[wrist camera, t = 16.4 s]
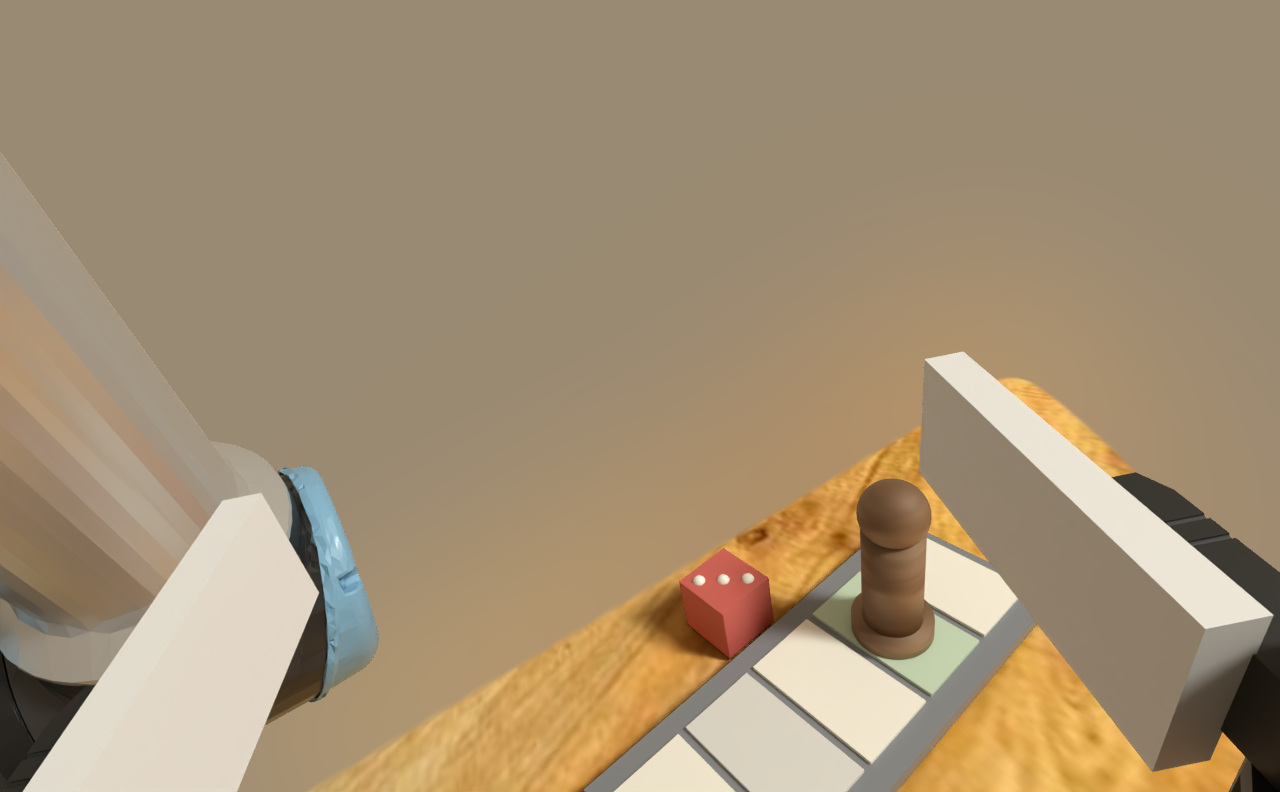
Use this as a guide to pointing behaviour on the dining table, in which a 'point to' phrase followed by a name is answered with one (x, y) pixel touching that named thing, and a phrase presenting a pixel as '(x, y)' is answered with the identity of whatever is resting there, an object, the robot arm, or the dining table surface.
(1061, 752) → the dining table surface
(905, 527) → the pawn
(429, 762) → the dining table surface
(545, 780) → the dining table surface
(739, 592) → the red die
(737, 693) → the game board
